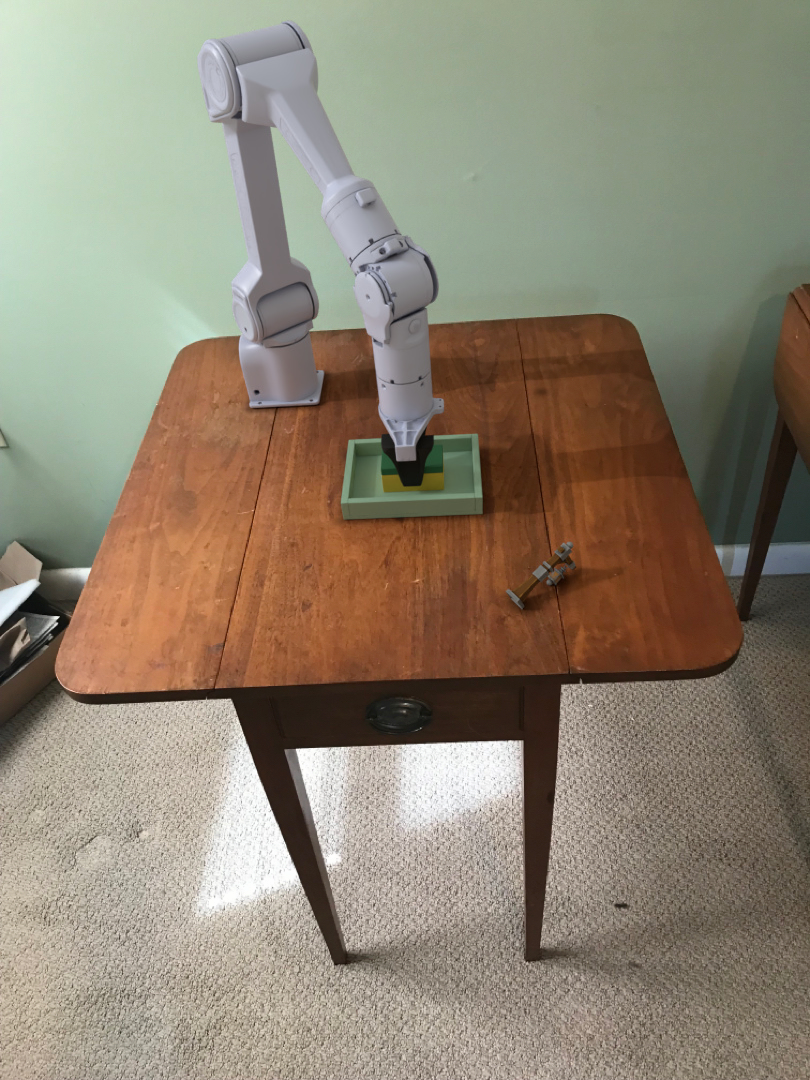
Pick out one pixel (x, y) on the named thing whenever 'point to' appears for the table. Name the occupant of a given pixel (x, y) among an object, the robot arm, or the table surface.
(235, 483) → the table surface
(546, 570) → the wooden post with brackets
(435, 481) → the sponge
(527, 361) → the table surface
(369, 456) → the pan
